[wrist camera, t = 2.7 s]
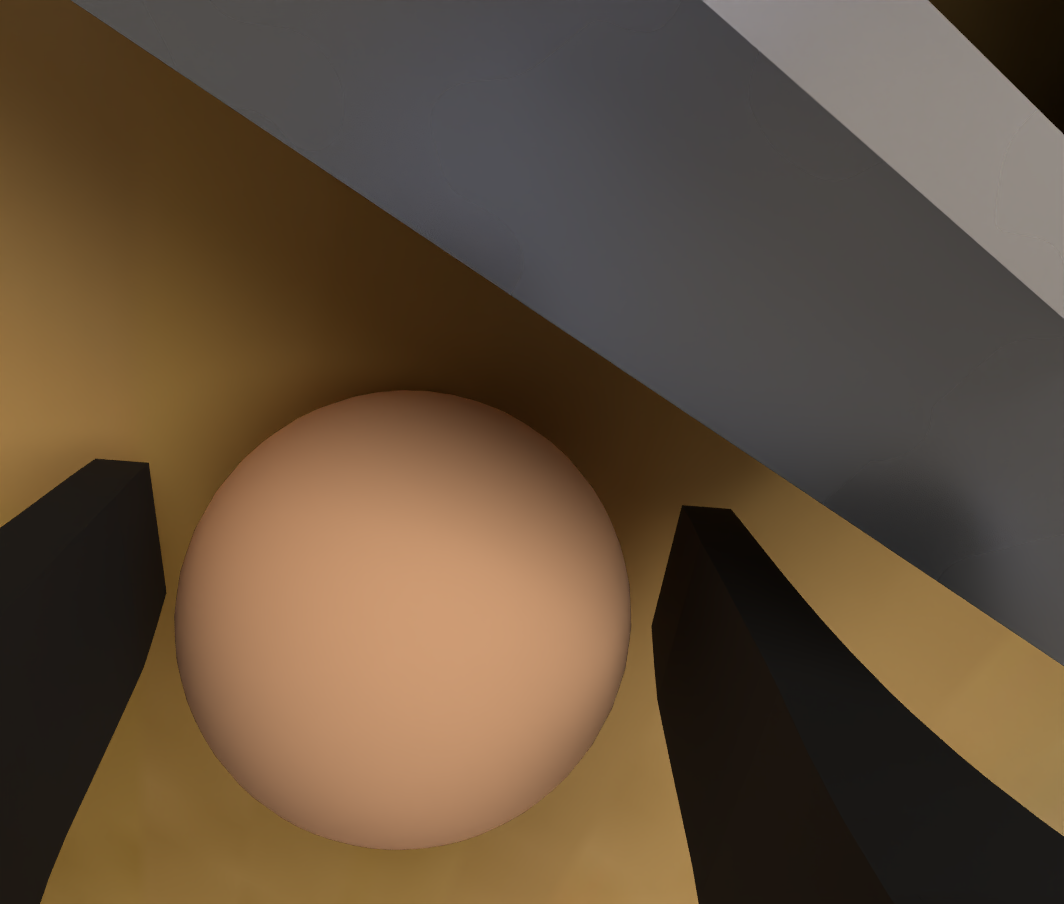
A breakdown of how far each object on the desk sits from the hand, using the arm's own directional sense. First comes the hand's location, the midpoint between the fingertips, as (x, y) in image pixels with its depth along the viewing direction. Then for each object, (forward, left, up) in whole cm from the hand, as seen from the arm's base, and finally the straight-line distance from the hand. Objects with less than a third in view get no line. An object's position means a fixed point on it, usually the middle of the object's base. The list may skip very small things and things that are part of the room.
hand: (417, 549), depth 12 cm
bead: (0, 0, +1) cm, 1 cm away
